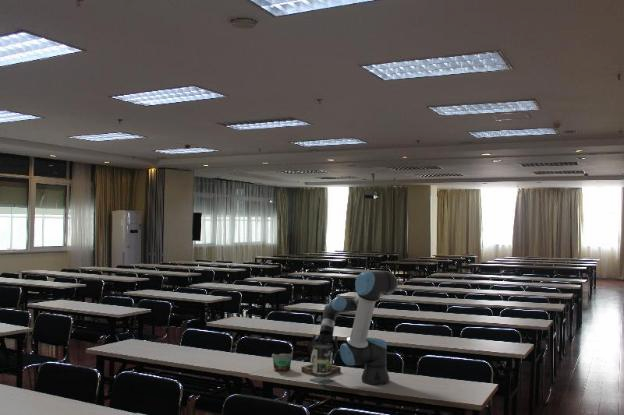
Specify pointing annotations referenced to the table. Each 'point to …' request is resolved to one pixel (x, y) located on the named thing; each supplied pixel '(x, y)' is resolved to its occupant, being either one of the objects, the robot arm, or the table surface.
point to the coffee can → (321, 358)
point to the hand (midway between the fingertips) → (321, 363)
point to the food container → (282, 362)
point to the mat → (322, 380)
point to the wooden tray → (309, 370)
